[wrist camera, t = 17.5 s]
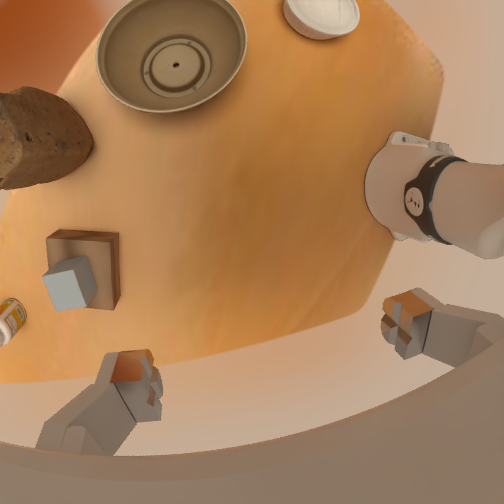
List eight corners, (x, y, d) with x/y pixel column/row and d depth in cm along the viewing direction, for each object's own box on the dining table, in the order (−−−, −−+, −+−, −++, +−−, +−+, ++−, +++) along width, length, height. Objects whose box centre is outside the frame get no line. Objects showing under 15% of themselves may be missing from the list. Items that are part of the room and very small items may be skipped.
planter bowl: (113, 38, 30) (90, 8, 20) (223, 12, 31) (232, -25, 21) (129, 137, 35) (105, 132, 25) (245, 109, 37) (261, 94, 27)
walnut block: (119, 232, 40) (110, 242, 35) (121, 294, 43) (113, 310, 38) (60, 228, 38) (45, 238, 33) (65, 289, 41) (53, 303, 36)
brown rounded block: (103, 152, 35) (28, 156, 17) (64, 182, 35) (-21, 210, 17) (73, 93, 31) (-7, 61, 13) (35, 124, 31) (-53, 118, 13)
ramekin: (356, 36, 35) (373, 27, 30) (300, 54, 35) (313, 43, 31) (322, -16, 31) (335, -30, 26) (263, -2, 31) (271, -18, 26)
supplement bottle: (3, 313, 39) (-22, 340, 30) (7, 292, 38) (-20, 318, 29) (24, 328, 41) (1, 359, 32) (29, 308, 40) (4, 338, 31)
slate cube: (86, 255, 35) (73, 269, 30) (97, 289, 37) (86, 306, 32) (57, 261, 34) (42, 276, 30) (68, 294, 36) (56, 311, 31)
